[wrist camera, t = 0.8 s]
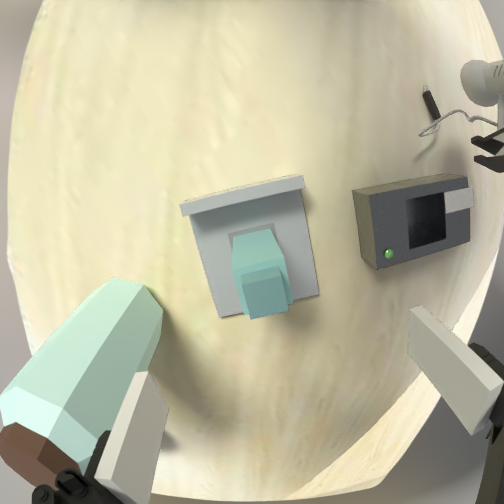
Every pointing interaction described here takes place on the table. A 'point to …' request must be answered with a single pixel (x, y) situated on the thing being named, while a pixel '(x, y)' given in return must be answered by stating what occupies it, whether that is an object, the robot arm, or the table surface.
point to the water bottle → (78, 382)
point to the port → (412, 218)
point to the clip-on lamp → (484, 94)
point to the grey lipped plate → (248, 221)
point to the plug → (260, 274)
